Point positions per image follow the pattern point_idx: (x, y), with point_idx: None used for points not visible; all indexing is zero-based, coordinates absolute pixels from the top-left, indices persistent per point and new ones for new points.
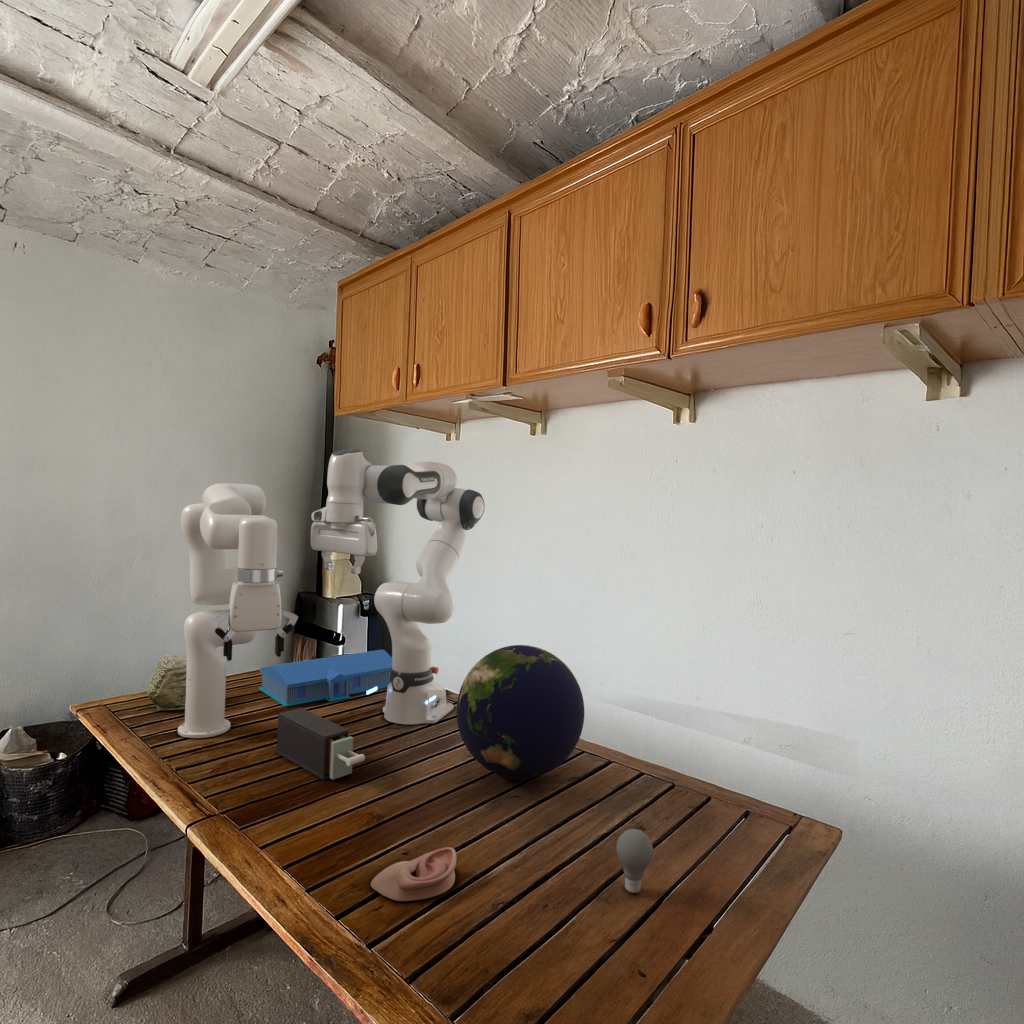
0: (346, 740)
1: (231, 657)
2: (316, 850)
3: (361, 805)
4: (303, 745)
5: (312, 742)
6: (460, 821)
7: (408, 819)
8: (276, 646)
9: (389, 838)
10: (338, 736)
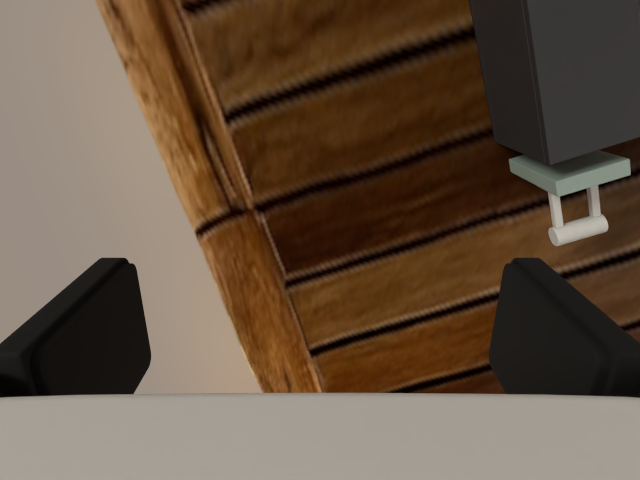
0: (602, 182)
1: (141, 375)
2: (388, 390)
3: None
4: (501, 35)
5: (521, 90)
6: None
7: None
8: (528, 365)
9: None
10: None
